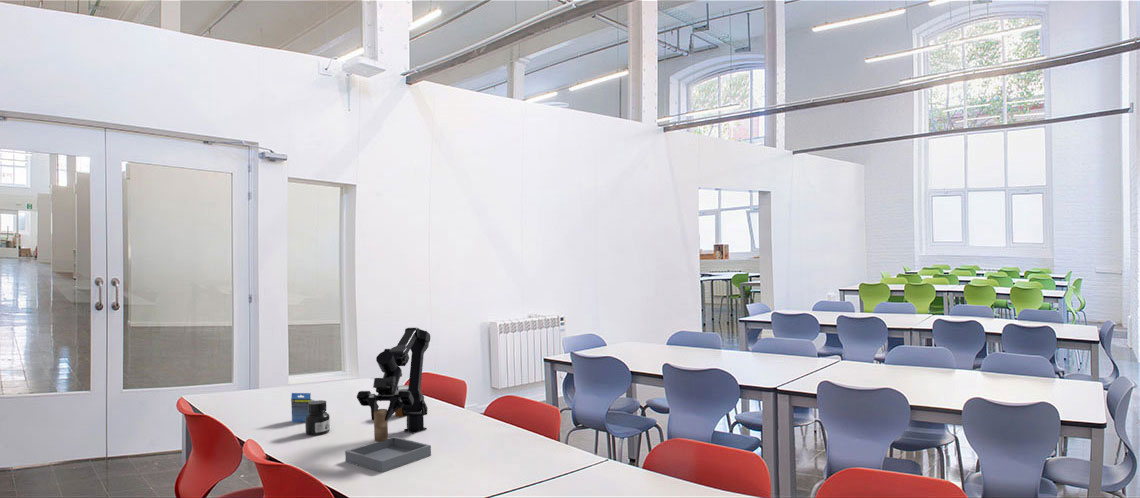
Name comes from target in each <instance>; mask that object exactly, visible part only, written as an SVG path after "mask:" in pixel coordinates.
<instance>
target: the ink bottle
mask: <svg viewBox="0 0 1140 498" xmlns="http://www.w3.org/2000/svg"><path fill="white" fill-rule="evenodd" d="M308 413H309V414H308V415H307V416H306V418H305V422H304V424H305V434H306V435H307V436H319V435H325V434H327V433H329V432H330V431H331V428H330V426H331V423H330V421H331V419H330V418H331V417H330V413H328V412H327V401H326V400H320V399H319V400H315V401H312V402H309V403H308Z"/></svg>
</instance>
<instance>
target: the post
mask: <svg viewBox="0 0 1140 498" xmlns="http://www.w3.org/2000/svg"><path fill="white" fill-rule="evenodd" d="M387 410H388V408H378V409H377V410H374V421H373V427H374V431H373V432H374V433H373V434H374V435H373V437H374V438H373V439H374V442H382V441H386V440H388V438H389V432H388V431H389V430H388V429H389V428H388V427H389V425H388V422H389V421H388V420H389V419H388V420H387V421H386V420H385V417H386V413H387Z"/></svg>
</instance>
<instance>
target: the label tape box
mask: <svg viewBox="0 0 1140 498" xmlns="http://www.w3.org/2000/svg"><path fill="white" fill-rule="evenodd" d="M301 396H302V397H301ZM311 396H312V395H311V392H291V396H290V397H291V398H290V401H291V422H292V423H305V418H306V416H307V415H308V414H309V413H308V403H309V402H312V401H316V400H315V399H311Z"/></svg>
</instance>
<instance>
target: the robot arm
mask: <svg viewBox="0 0 1140 498" xmlns="http://www.w3.org/2000/svg"><path fill="white" fill-rule="evenodd" d="M430 342H431V333H429V332H428V330H423V329H420V328H419V327H406V328H405V329H404V334H403V335H402V336H401V338H400V340H399V341H398V343H397V345H395V346H393V347H391V348H385V349H383V351H381V352H380V353H379V354H378V355H377V356H376V359H375V361H376V363H377V366H378V367H379V369H380V371H381V372H382V373H383V376H382V377H374V379H373V385H372V387H373V389H375V392H376V393H377V394H375V393H372V392H371V391H370V390H360V391H358V392H357V395H356V398H357V401H358V402H359V404H360V406H363V407H366V406H367V407H369V408H370V415H371V421H372V422H374V410H377V409H380V408H379V404H378V402H389V405H388V408H387V413H386V417H385V420H386V421H387V420H389V419H390V418H391V417H392V416H393V415H394V414H395V412H396V411H397V410H398V409H399V408H402V414H403V416H405V417H406V428H404V429H403V431H405V432H407V433H408V432H409V433H412V434H416V433H418V432H422V431H425V430H428V428H427V427H425V426H424V424H425V423H424V416H428V406H427V403H426V401H425V396H424V393H423V391H422V389H421V387H422V379H423V377H422V376H423V363H424V354H425V352H426V351H427V350H428V348H429V346H430ZM410 351H411V359H410V356H409V352H410ZM409 360H410V369H409V379H408V385H409V388H408V390H407V391H399V393H398V395H395V394H396V390H398V388H399V387H398V386H399V383H400V379H401V378H402V376H403V373H402V368H401V367H406V366H407V364H408V362H409Z"/></svg>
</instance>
